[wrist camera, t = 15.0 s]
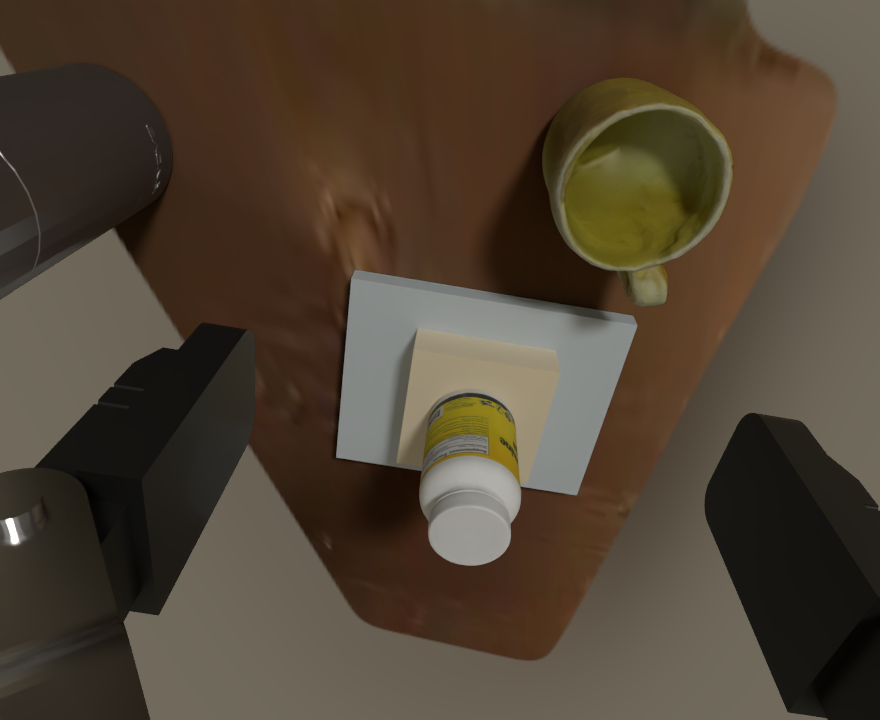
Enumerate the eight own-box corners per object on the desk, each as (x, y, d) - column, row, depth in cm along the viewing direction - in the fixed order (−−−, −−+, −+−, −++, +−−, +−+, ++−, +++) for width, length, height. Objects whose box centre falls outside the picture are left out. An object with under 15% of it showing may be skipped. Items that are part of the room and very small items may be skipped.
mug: (508, 66, 35) (586, 130, 28) (672, 42, 37) (787, 97, 29) (504, 254, 43) (564, 341, 36) (639, 227, 45) (722, 306, 37)
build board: (339, 446, 52) (328, 482, 48) (355, 269, 44) (342, 296, 40) (574, 483, 52) (581, 521, 49) (633, 315, 44) (647, 346, 40)
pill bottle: (517, 452, 46) (527, 574, 36) (433, 457, 46) (421, 577, 37) (512, 381, 42) (522, 494, 33) (423, 387, 43) (407, 499, 34)
